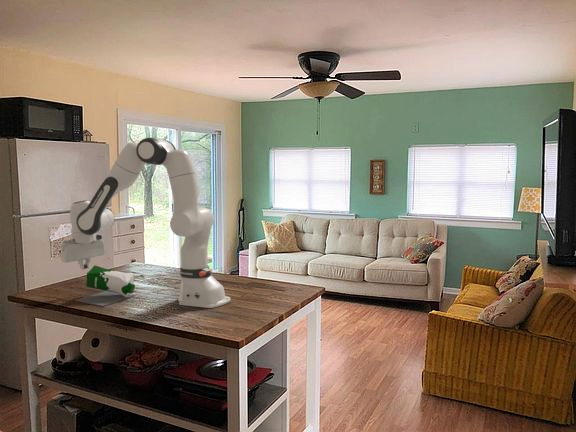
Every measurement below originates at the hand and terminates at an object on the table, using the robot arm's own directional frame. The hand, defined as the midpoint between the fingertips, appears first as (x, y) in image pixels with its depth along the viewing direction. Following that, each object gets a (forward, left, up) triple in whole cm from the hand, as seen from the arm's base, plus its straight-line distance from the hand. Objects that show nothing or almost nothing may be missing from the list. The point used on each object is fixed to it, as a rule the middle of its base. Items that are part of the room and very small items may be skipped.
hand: (84, 268), depth 209 cm
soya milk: (-3, 0, -3) cm, 4 cm away
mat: (-12, 0, -12) cm, 17 cm away
